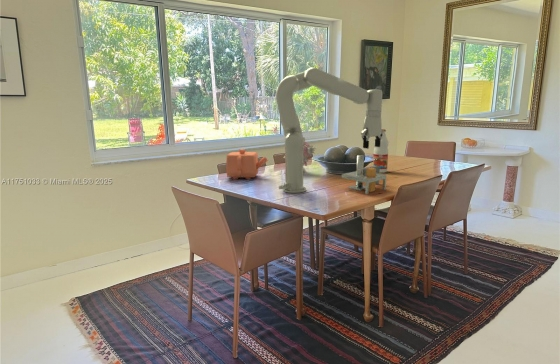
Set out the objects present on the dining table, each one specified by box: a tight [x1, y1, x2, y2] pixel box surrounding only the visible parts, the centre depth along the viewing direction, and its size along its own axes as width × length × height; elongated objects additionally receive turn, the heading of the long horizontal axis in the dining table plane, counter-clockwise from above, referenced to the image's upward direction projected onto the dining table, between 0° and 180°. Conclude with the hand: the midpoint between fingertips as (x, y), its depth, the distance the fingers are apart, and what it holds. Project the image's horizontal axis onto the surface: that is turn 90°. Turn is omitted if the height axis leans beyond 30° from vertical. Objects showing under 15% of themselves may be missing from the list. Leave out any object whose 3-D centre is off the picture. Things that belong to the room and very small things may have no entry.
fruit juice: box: [372, 128, 389, 174], centre depth 246 cm, size 9×9×28 cm
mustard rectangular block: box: [366, 167, 376, 193], centre depth 199 cm, size 4×4×12 cm
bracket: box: [363, 165, 380, 186], centre depth 210 cm, size 14×2×10 cm, turn 129°
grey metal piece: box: [341, 154, 387, 195], centre depth 202 cm, size 16×18×18 cm
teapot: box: [225, 148, 269, 180], centre depth 235 cm, size 25×23×18 cm
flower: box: [282, 136, 316, 173], centre depth 246 cm, size 20×22×24 cm
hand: (371, 147), depth 195 cm, fingers open, 9 cm apart
